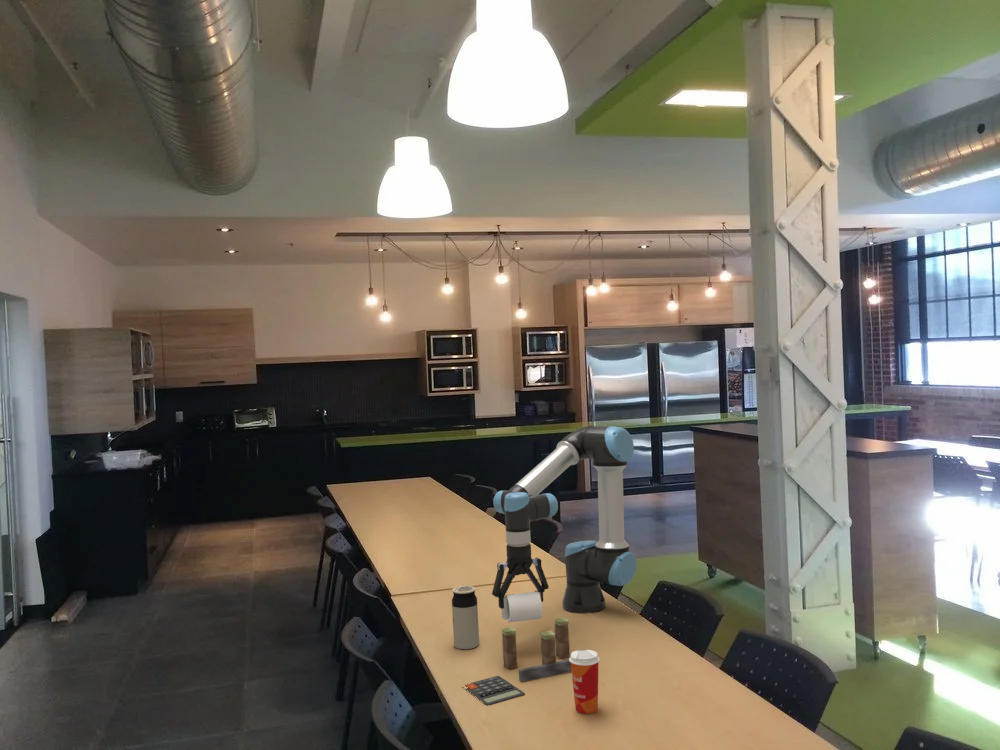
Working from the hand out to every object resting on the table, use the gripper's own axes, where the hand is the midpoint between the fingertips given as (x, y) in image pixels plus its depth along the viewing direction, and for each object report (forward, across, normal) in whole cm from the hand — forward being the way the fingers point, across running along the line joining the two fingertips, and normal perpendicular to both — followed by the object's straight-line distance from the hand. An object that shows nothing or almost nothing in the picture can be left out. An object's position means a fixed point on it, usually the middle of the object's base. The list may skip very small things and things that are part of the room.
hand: (521, 615), depth 244 cm
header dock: (+11, 0, +15) cm, 18 cm away
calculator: (+12, +19, +23) cm, 32 cm away
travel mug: (+11, +14, -13) cm, 22 cm away
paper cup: (+11, +2, +45) cm, 46 cm away
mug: (+1, 0, 0) cm, 1 cm away
